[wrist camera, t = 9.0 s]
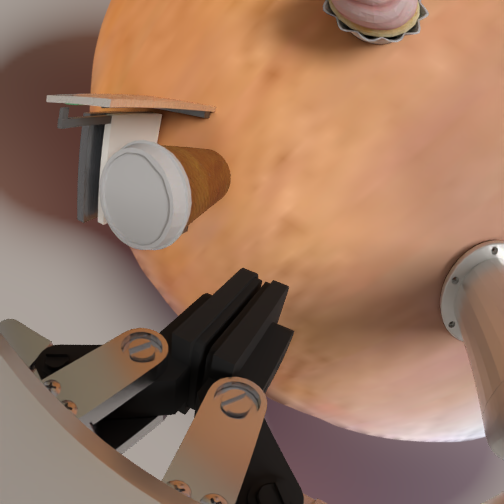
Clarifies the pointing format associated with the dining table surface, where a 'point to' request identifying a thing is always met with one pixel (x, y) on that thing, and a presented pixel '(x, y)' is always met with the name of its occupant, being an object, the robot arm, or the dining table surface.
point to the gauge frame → (95, 133)
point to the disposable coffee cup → (159, 191)
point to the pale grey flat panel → (116, 133)
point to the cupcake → (377, 18)
